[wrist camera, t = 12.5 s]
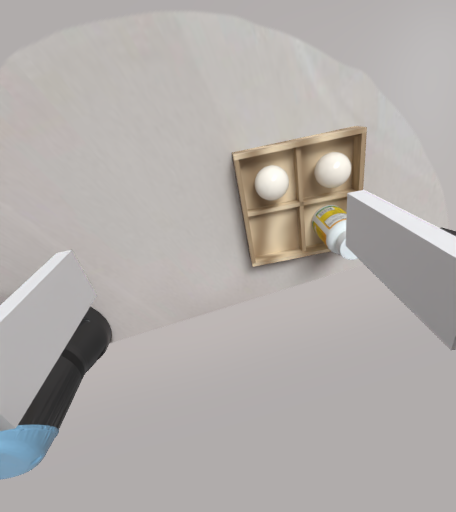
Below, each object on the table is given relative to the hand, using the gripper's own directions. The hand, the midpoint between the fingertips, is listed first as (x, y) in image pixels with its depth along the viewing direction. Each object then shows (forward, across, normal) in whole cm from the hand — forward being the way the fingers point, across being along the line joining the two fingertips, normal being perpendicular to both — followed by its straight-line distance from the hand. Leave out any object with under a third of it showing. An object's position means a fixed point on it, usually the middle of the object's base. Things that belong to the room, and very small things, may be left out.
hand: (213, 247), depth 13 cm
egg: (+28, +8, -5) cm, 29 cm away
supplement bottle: (+28, +16, -13) cm, 35 cm away
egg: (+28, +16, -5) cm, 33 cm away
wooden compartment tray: (+29, +12, -9) cm, 32 cm away
